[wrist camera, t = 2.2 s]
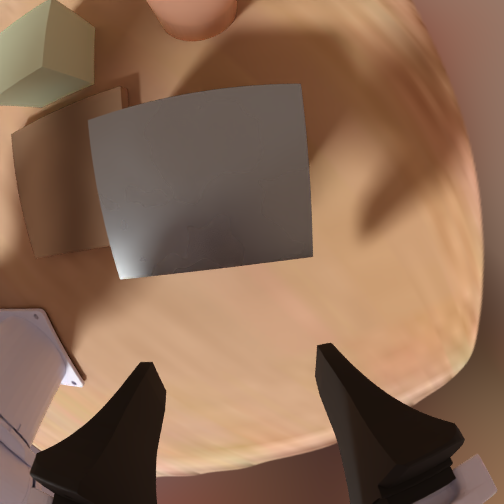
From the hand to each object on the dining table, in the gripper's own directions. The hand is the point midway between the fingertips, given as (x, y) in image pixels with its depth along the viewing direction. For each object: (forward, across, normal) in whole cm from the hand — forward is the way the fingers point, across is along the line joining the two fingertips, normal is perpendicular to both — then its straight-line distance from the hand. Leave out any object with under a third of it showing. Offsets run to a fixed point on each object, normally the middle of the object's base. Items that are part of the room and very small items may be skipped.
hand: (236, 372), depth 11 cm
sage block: (+6, +8, -16) cm, 19 cm away
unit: (+5, 0, -8) cm, 10 cm away
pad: (+5, +8, -9) cm, 13 cm away
